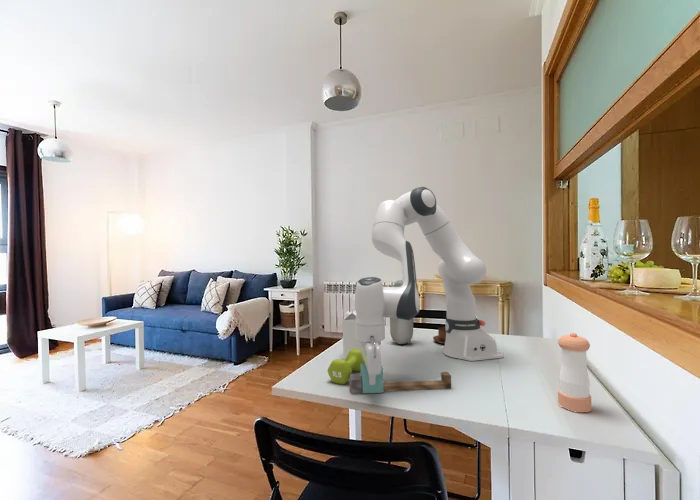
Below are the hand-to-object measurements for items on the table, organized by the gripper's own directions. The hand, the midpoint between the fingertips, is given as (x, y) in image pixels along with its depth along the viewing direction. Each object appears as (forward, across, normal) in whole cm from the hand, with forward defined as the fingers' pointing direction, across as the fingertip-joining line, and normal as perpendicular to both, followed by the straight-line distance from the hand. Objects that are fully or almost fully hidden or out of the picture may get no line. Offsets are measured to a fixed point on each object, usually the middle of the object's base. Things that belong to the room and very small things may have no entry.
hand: (370, 379), depth 103 cm
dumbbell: (+4, +12, +6) cm, 14 cm away
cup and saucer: (+4, +50, -41) cm, 64 cm away
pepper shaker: (+3, -16, -51) cm, 54 cm away
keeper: (+3, 0, 0) cm, 3 cm away
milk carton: (+3, +32, +3) cm, 32 cm away
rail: (+3, 0, -9) cm, 9 cm away
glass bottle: (+3, +50, -20) cm, 54 cm away
